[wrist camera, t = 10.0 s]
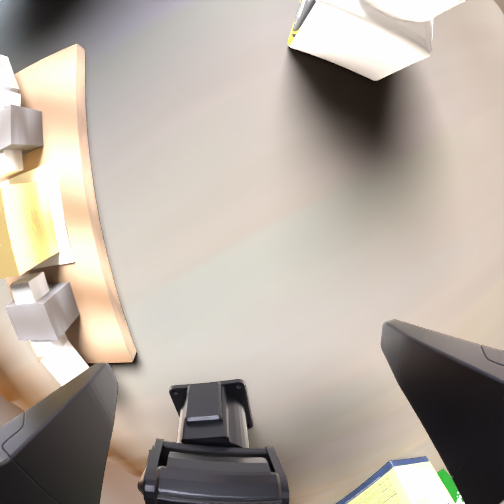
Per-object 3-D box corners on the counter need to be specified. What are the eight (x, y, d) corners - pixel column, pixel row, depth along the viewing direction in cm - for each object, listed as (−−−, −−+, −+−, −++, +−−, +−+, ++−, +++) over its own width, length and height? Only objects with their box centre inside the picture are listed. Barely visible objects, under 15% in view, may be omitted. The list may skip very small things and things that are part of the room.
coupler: (46, 180, 15) (0, 186, 11) (59, 250, 17) (19, 275, 12) (9, 193, 15) (-35, 203, 10) (22, 258, 17) (-18, 281, 12)
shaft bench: (140, 362, 22) (125, 405, 17) (50, 362, 21) (26, 396, 16) (85, 39, 14) (54, 12, 9) (-5, 85, 14) (-43, 76, 9)
